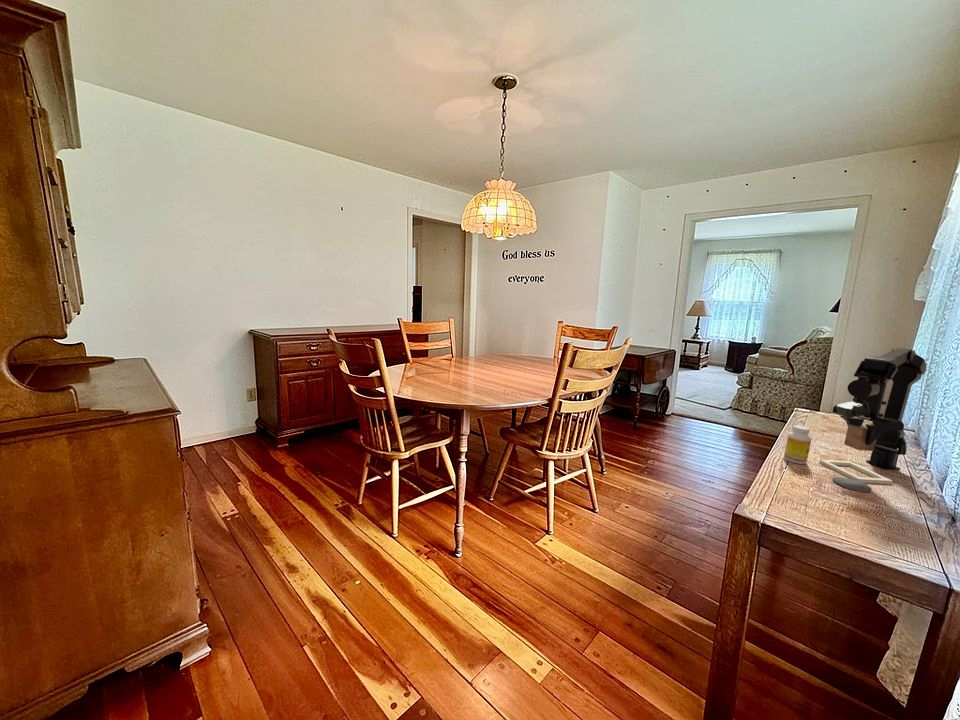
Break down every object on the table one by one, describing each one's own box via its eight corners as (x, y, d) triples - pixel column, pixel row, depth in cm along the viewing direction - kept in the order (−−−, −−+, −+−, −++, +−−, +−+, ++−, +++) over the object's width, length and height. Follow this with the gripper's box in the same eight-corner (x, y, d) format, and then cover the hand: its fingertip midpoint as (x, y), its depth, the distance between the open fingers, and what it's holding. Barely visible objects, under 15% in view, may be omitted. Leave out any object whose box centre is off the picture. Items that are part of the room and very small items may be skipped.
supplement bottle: (807, 466, 137) (814, 432, 135) (783, 461, 141) (790, 427, 139) (805, 460, 142) (812, 427, 140) (783, 455, 146) (789, 423, 144)
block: (858, 445, 130) (863, 425, 129) (873, 451, 125) (878, 430, 124) (844, 444, 130) (848, 424, 129) (857, 449, 125) (862, 429, 124)
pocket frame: (849, 464, 141) (850, 461, 141) (891, 484, 126) (892, 480, 126) (819, 462, 141) (819, 459, 141) (858, 482, 126) (858, 478, 126)
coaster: (852, 479, 128) (852, 477, 128) (879, 493, 119) (880, 491, 119) (825, 477, 128) (825, 476, 128) (850, 491, 119) (850, 489, 119)
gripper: (821, 387, 134) (812, 430, 137) (874, 401, 116) (862, 450, 118) (853, 390, 134) (843, 432, 137) (911, 404, 116) (898, 453, 118)
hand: (859, 441), depth 128 cm, fingers closed on block, 5 cm apart
